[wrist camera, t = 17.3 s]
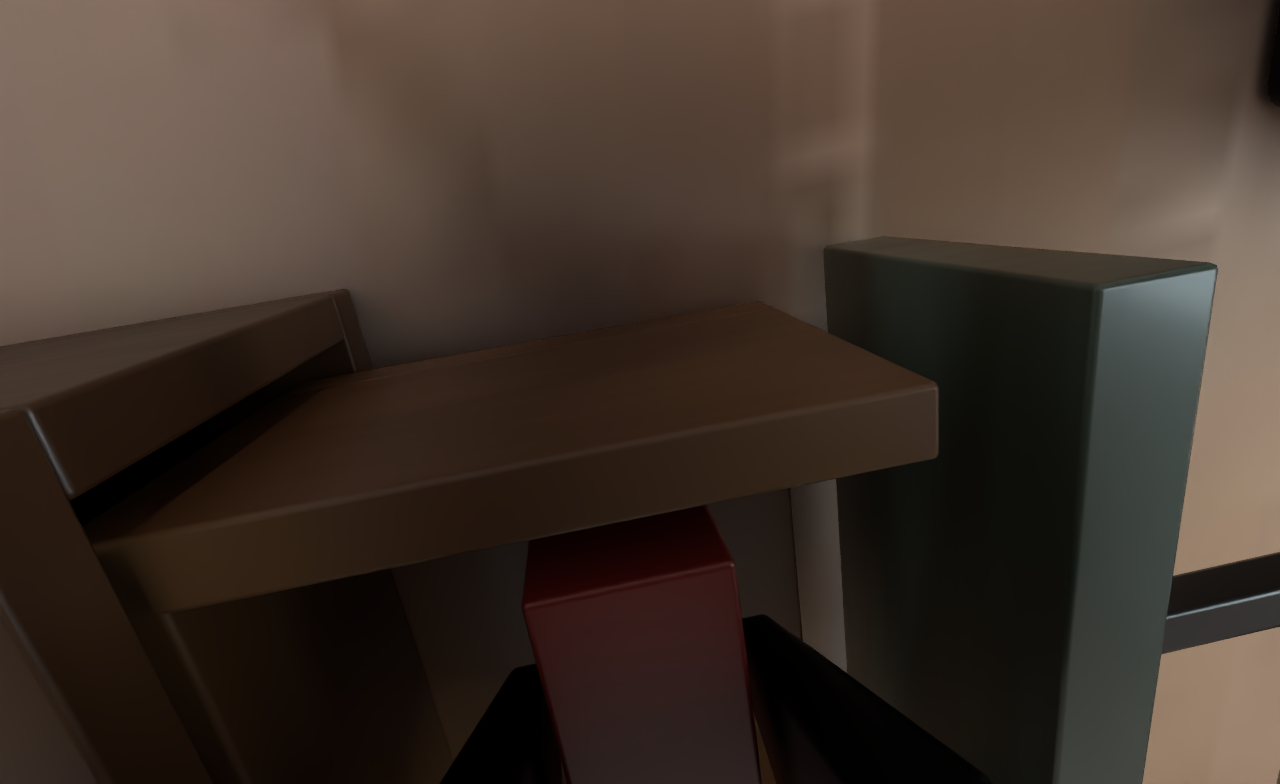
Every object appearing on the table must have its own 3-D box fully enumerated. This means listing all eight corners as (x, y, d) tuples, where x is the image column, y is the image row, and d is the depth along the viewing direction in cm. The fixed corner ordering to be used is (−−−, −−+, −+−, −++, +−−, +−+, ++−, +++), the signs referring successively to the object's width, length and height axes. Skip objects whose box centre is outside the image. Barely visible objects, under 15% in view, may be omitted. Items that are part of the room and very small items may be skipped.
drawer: (1133, 192, 11) (1710, 174, 6) (1079, 736, 15) (1378, 1039, 10) (292, 338, 10) (-48, 499, 4) (480, 881, 14) (426, 1319, 9)
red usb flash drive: (535, 464, 9) (518, 607, 6) (676, 437, 9) (736, 561, 6) (627, 863, 12) (651, 1110, 9) (735, 837, 12) (798, 1071, 9)
